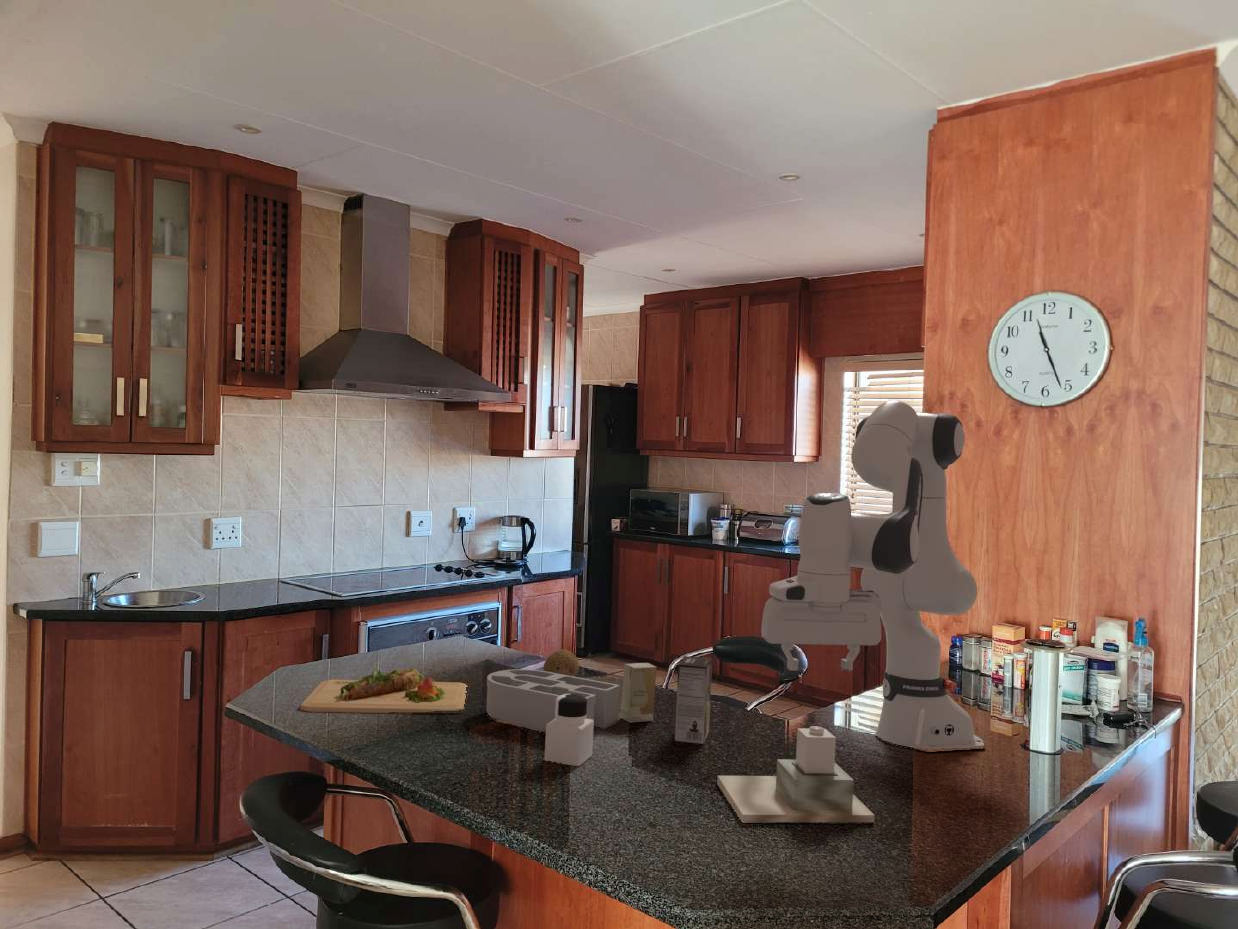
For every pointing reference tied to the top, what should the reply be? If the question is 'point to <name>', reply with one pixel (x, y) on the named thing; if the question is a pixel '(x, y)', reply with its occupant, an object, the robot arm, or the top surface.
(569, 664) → the natural sponge
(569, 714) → the medicine bottle
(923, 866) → the top surface
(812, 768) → the building block
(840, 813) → the display stand
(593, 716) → the grey compartment organizer
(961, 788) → the top surface
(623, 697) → the skincare box
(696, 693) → the food carton
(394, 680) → the cutting board
